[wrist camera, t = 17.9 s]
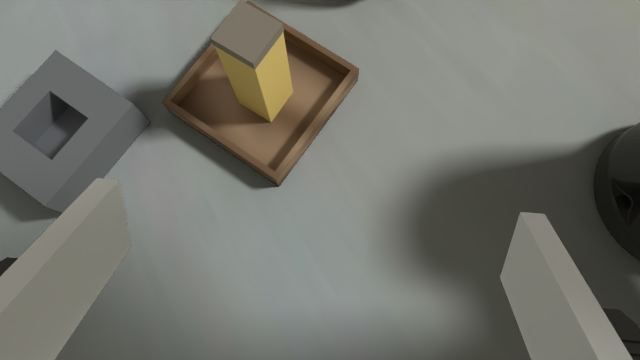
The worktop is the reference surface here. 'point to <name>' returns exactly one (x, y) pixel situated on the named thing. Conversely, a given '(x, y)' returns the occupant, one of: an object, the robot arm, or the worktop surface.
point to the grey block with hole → (64, 132)
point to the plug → (255, 59)
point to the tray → (250, 128)
